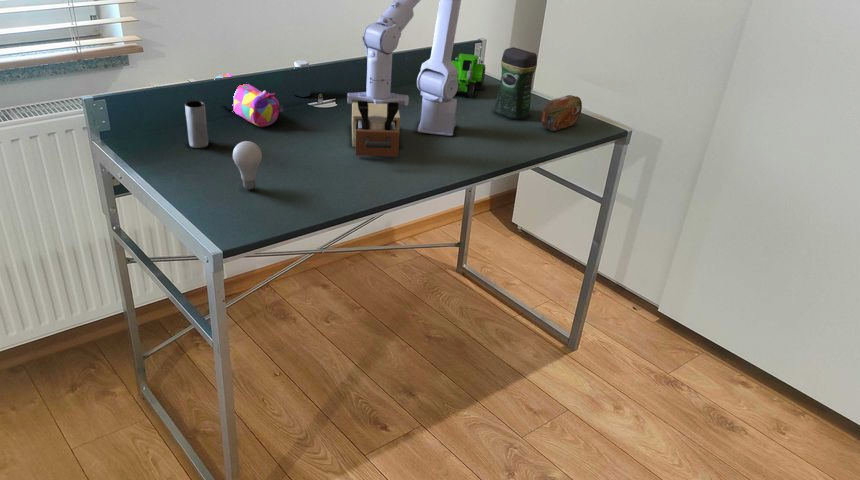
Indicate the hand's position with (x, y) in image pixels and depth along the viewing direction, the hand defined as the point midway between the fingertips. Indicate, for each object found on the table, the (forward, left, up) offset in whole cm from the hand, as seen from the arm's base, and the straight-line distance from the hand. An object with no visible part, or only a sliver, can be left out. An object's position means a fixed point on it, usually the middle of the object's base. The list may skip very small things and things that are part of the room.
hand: (376, 131), depth 179 cm
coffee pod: (0, 0, -1) cm, 1 cm away
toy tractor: (-19, -54, -6) cm, 58 cm away
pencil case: (+37, -14, -6) cm, 41 cm away
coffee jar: (-34, -37, -6) cm, 51 cm away
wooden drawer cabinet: (+2, -9, -5) cm, 11 cm away
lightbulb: (+23, +28, -6) cm, 37 cm away
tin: (-47, -32, -6) cm, 57 cm away
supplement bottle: (+27, -34, -6) cm, 44 cm away
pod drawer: (0, +1, -4) cm, 4 cm away
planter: (+42, +8, -6) cm, 43 cm away
